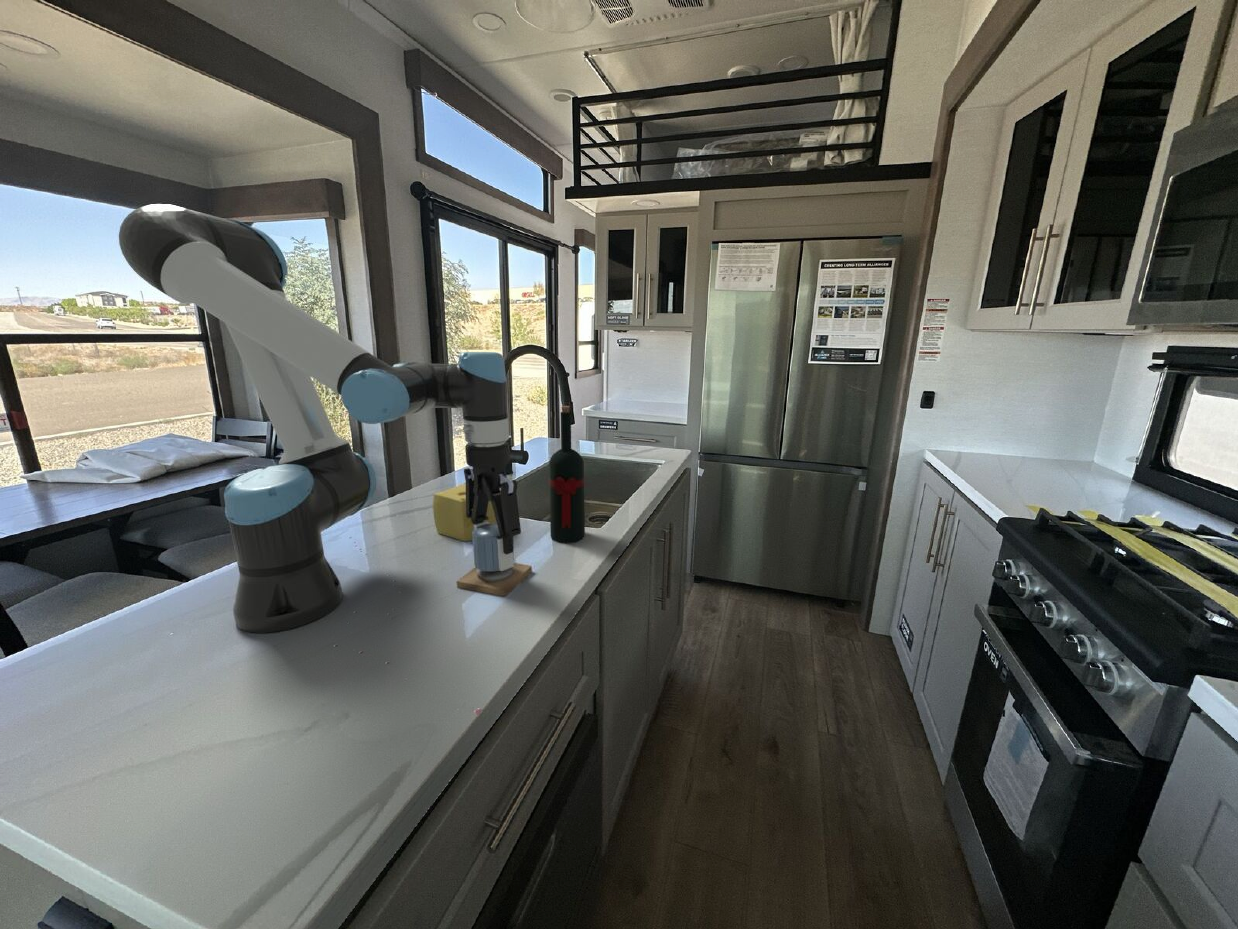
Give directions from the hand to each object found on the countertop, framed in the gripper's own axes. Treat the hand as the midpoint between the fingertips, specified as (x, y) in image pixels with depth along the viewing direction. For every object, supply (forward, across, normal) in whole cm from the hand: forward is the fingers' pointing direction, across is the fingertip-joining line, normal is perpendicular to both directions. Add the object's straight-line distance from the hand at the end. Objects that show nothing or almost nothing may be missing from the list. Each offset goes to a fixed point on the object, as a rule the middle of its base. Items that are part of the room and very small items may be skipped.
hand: (494, 561), depth 92 cm
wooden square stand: (+4, 0, 0) cm, 4 cm away
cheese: (+4, -25, +8) cm, 26 cm away
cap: (0, 0, 0) cm, 0 cm away
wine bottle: (+4, -5, +22) cm, 23 cm away
